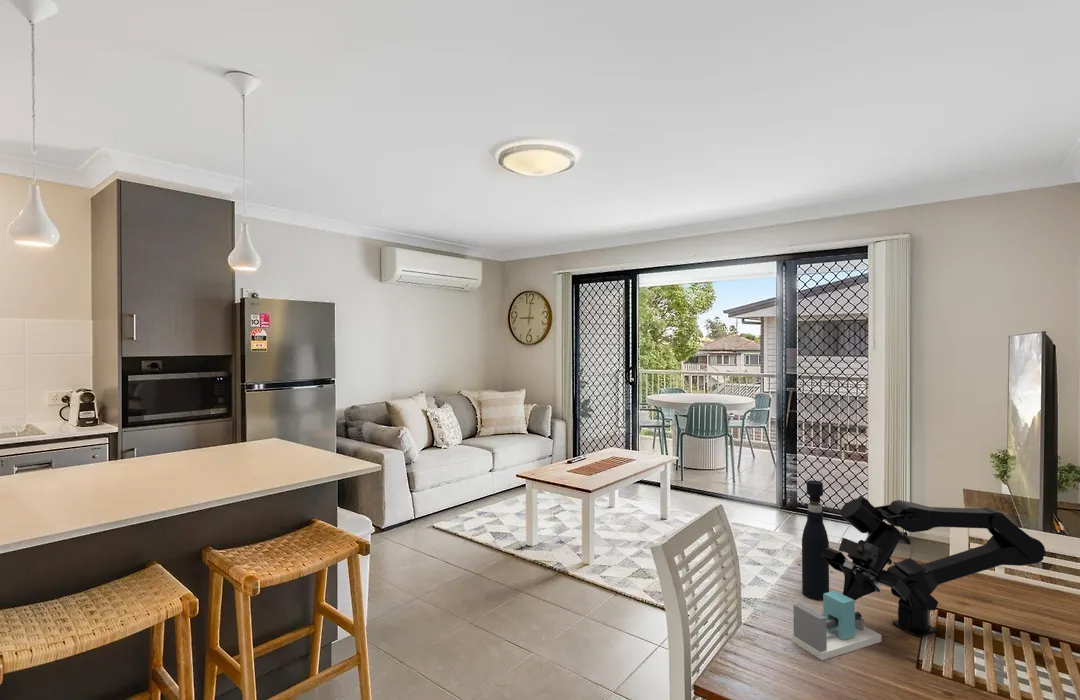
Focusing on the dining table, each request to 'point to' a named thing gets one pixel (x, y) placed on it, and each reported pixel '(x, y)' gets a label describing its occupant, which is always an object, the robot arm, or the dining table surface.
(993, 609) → the dining table surface
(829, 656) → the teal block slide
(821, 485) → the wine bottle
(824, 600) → the teal block on rod
